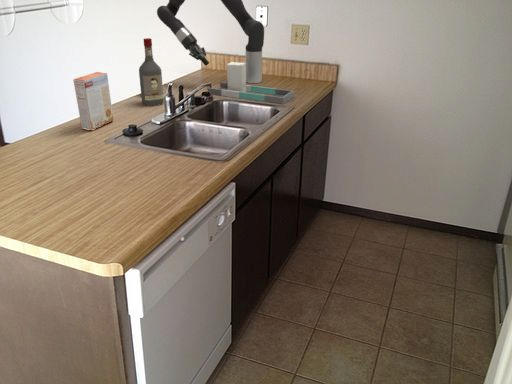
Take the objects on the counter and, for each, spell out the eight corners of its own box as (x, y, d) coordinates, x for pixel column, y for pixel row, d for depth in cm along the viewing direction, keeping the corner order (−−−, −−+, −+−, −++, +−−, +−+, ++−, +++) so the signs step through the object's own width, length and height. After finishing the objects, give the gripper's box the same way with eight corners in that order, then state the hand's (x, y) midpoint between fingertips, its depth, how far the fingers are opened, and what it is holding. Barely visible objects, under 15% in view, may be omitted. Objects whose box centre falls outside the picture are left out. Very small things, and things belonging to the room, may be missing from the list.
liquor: (140, 102, 230) (134, 38, 217) (158, 99, 235) (153, 36, 221) (146, 107, 223) (140, 41, 210) (165, 104, 228) (160, 39, 214)
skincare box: (246, 92, 249) (246, 62, 242) (242, 95, 244) (242, 65, 237) (231, 91, 252) (231, 61, 245) (226, 94, 246) (226, 63, 239)
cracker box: (102, 120, 205) (96, 71, 196) (114, 121, 203) (108, 72, 194) (80, 129, 193) (72, 78, 184) (92, 131, 191) (84, 79, 182)
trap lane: (221, 87, 259) (221, 81, 257) (294, 96, 244) (294, 90, 242) (207, 93, 246) (207, 88, 245) (283, 104, 231) (283, 98, 230)
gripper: (183, 35, 239) (205, 61, 240) (196, 31, 250) (217, 57, 251) (175, 45, 244) (196, 71, 245) (188, 41, 254) (209, 66, 255)
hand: (207, 64), depth 248 cm, fingers closed
